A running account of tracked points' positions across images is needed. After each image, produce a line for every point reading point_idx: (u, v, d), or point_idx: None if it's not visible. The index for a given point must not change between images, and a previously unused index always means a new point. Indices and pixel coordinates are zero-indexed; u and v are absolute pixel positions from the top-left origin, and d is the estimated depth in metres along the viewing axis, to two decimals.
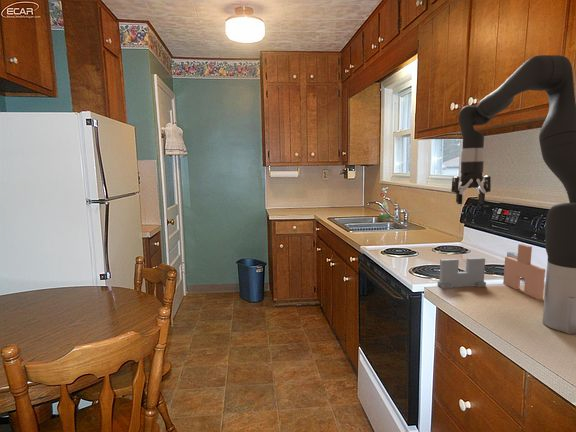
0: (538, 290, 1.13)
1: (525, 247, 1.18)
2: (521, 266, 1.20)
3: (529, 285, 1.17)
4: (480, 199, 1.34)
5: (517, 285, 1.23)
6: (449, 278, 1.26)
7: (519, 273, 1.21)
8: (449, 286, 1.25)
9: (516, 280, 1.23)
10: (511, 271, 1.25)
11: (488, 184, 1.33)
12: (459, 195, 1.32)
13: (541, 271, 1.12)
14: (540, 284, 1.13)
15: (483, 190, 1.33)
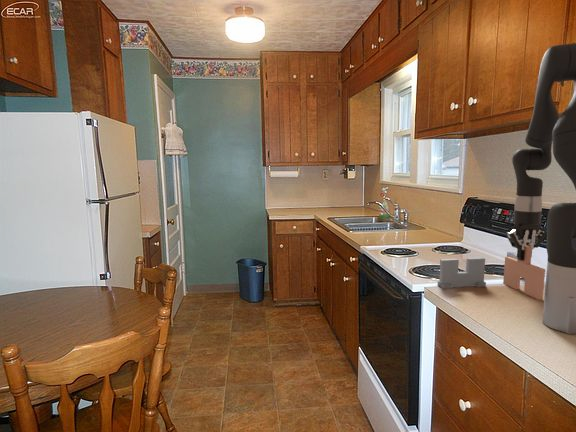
0: (538, 290, 1.13)
1: (525, 247, 1.18)
2: (521, 266, 1.20)
3: (529, 285, 1.17)
4: None
5: (517, 285, 1.23)
6: (449, 278, 1.26)
7: (519, 273, 1.21)
8: (449, 286, 1.25)
9: (516, 280, 1.23)
10: (511, 271, 1.25)
11: (540, 239, 1.18)
12: (521, 251, 1.18)
13: (541, 271, 1.12)
14: (540, 284, 1.13)
15: (532, 245, 1.18)
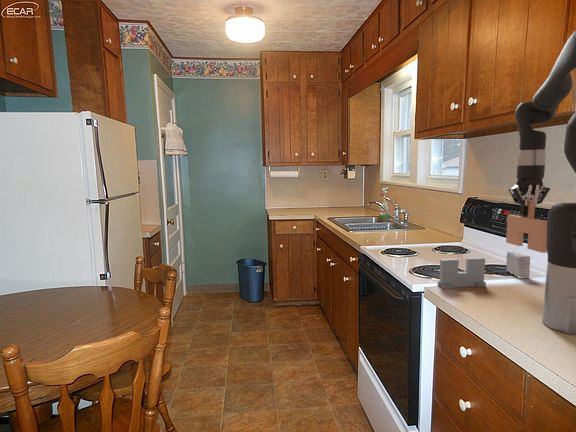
0: (542, 243, 1.11)
1: None
2: (524, 221, 1.18)
3: (532, 239, 1.15)
4: None
5: (520, 242, 1.21)
6: (449, 278, 1.26)
7: (522, 229, 1.19)
8: (449, 286, 1.25)
9: (519, 237, 1.21)
10: (514, 228, 1.23)
11: (543, 195, 1.16)
12: (524, 207, 1.16)
13: (545, 223, 1.10)
14: (543, 237, 1.11)
15: (535, 201, 1.16)
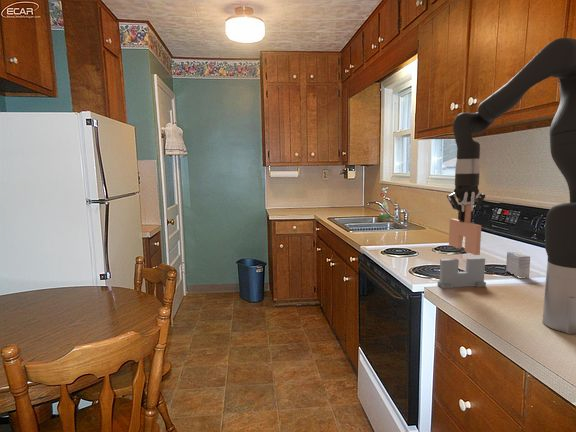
0: (475, 246, 1.18)
1: (465, 206, 1.22)
2: (462, 225, 1.24)
3: (468, 242, 1.21)
4: None
5: (460, 244, 1.27)
6: (449, 278, 1.26)
7: (461, 232, 1.25)
8: (449, 286, 1.25)
9: (458, 239, 1.27)
10: (454, 231, 1.29)
11: (479, 201, 1.23)
12: (461, 212, 1.23)
13: (478, 227, 1.16)
14: (476, 240, 1.17)
15: (471, 207, 1.22)
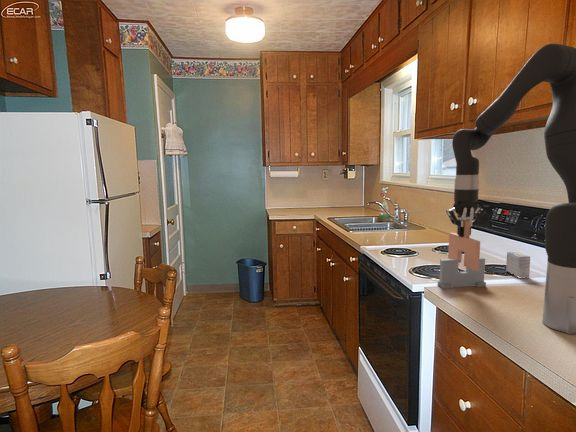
0: (474, 261, 1.18)
1: (464, 221, 1.23)
2: (461, 240, 1.25)
3: (467, 257, 1.22)
4: None
5: (459, 259, 1.28)
6: (449, 278, 1.26)
7: (460, 247, 1.26)
8: (449, 286, 1.25)
9: (458, 254, 1.28)
10: (454, 246, 1.30)
11: (478, 217, 1.23)
12: (460, 228, 1.24)
13: (477, 243, 1.17)
14: (475, 256, 1.18)
15: (470, 222, 1.23)
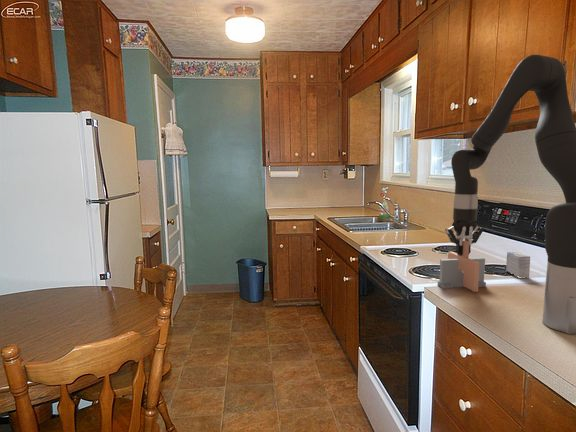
0: (473, 282, 1.19)
1: (463, 242, 1.24)
2: (460, 260, 1.26)
3: (466, 278, 1.23)
4: None
5: None
6: (449, 278, 1.26)
7: (459, 267, 1.27)
8: (449, 286, 1.25)
9: None
10: None
11: (477, 235, 1.24)
12: (459, 246, 1.25)
13: (476, 264, 1.18)
14: (475, 277, 1.19)
15: (470, 241, 1.24)
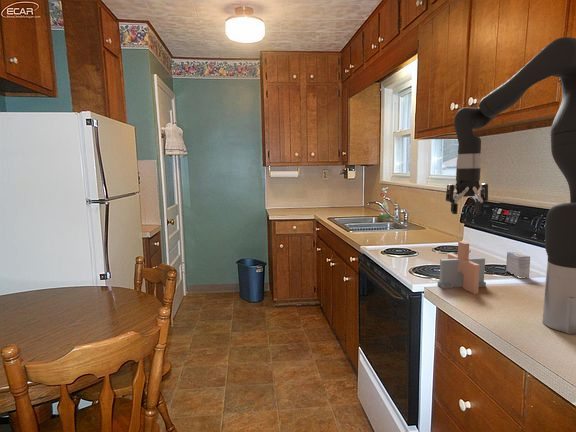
0: (473, 285, 1.19)
1: (463, 244, 1.24)
2: (460, 262, 1.26)
3: (467, 280, 1.23)
4: (476, 209, 1.25)
5: None
6: (449, 278, 1.26)
7: (459, 269, 1.27)
8: (449, 286, 1.25)
9: None
10: None
11: (485, 192, 1.23)
12: (454, 204, 1.23)
13: (476, 266, 1.18)
14: (475, 279, 1.19)
15: (480, 199, 1.23)
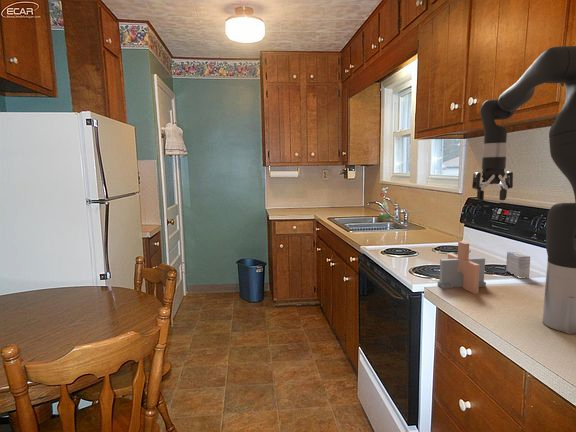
0: (473, 285, 1.19)
1: (463, 244, 1.24)
2: (460, 262, 1.26)
3: (467, 280, 1.23)
4: (501, 196, 1.31)
5: None
6: (449, 278, 1.26)
7: (459, 269, 1.27)
8: (449, 286, 1.25)
9: None
10: None
11: (510, 180, 1.29)
12: (480, 191, 1.29)
13: (476, 266, 1.18)
14: (475, 279, 1.19)
15: (505, 186, 1.29)
